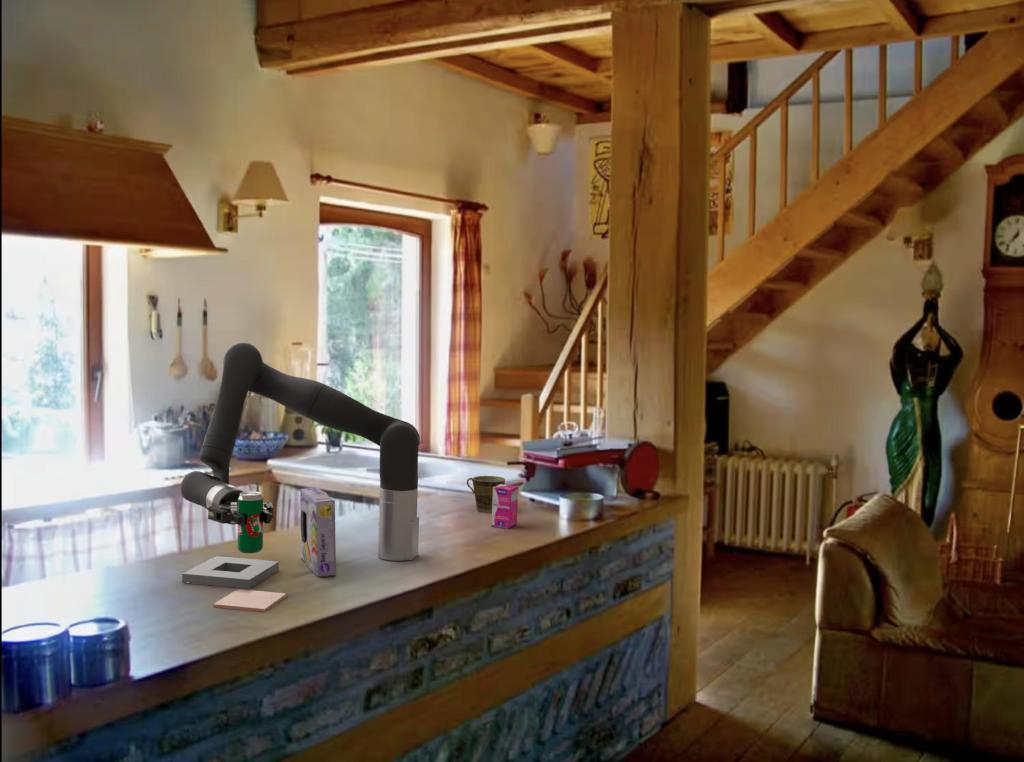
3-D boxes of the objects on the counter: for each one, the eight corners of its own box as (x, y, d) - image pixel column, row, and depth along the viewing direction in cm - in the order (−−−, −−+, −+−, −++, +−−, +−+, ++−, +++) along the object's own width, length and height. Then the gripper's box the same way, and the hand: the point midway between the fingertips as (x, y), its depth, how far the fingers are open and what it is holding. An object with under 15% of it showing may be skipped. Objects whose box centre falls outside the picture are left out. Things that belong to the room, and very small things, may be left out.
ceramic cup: (510, 510, 304) (511, 478, 303) (492, 516, 295) (493, 482, 294) (475, 504, 310) (476, 473, 310) (456, 509, 302) (457, 477, 301)
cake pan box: (297, 557, 240) (299, 485, 239) (318, 556, 242) (320, 484, 241) (314, 579, 223) (316, 501, 221) (336, 577, 225) (338, 500, 223)
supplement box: (490, 527, 281) (492, 487, 280) (498, 523, 286) (500, 483, 285) (509, 529, 279) (511, 489, 278) (517, 525, 284) (519, 485, 283)
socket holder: (278, 570, 229) (278, 561, 228) (249, 588, 213) (249, 579, 213) (215, 564, 231) (215, 556, 231) (182, 582, 216) (182, 573, 216)
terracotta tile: (286, 596, 209) (286, 593, 209) (264, 611, 198) (264, 609, 198) (237, 591, 211) (237, 588, 211) (213, 607, 200) (213, 604, 200)
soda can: (240, 547, 206) (240, 490, 205) (264, 547, 207) (265, 491, 205) (235, 553, 201) (235, 495, 200) (260, 554, 202) (261, 496, 200)
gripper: (195, 488, 211) (221, 504, 197) (260, 483, 219) (290, 498, 205) (195, 523, 211) (220, 541, 197) (259, 517, 219) (289, 534, 205)
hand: (256, 519), depth 201 cm, fingers closed on soda can, 4 cm apart
